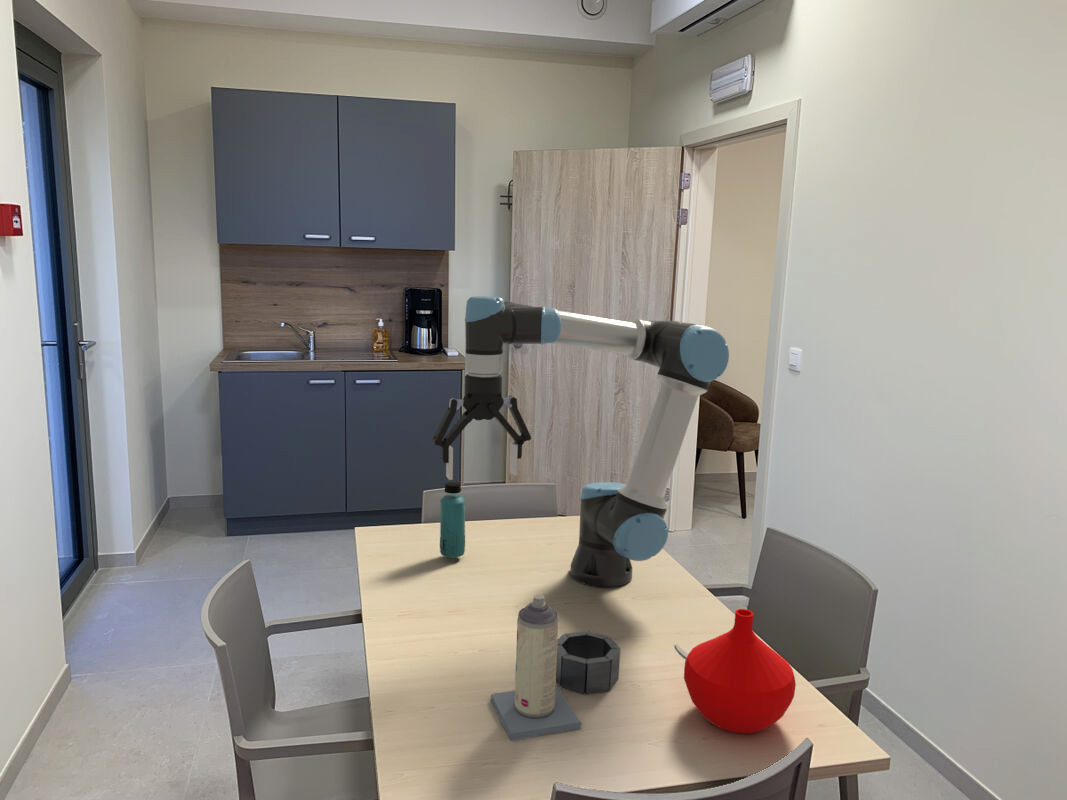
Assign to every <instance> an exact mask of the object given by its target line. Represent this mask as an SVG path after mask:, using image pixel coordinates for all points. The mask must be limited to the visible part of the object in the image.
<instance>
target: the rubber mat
mask: <svg viewBox="0 0 1067 800" xmlns="http://www.w3.org/2000/svg"><path fill="white" fill-rule="evenodd" d="M490 701H491V703H492V705H493V708H494V710H495V711H496V714H497V716H498V717H499V720H500V721H501V723H502V725H503V727H504V729H505V731H506V733H507V735H508V737H509V739H510V741H515V740H523V739H527V738H533V737H540V736H544V735H545V736H546V735H550V734H551V735H552V734H557V733H563V732H568V731H574V730H580V729H581V728H582V727H581V725H582V722H581V721H582V720H580V719H579V717H578V715H577V714H576V712H575V711H574V709H573V708H572V707H571V705H570V704H569V702H568V701H567V699H566V697H565V696H564V695H563V693H562V692H561V690H560V689H559V686H558V685H556V686H555V708H554V712H553V713H552V714H551V715H550V716H548V717H545V718H541V719H530V718H526V717H523V716H521V715H519V714H518V713H517V712H516V710H515V708H514V707H515V690H510V691H509V690H508V691H502V692H495V693H491V694H490Z"/></svg>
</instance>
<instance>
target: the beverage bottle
mask: <svg viewBox="0 0 1067 800" xmlns="http://www.w3.org/2000/svg"><path fill="white" fill-rule="evenodd" d="M444 492H445V493H447V494H445V495H444V496H443V497H442V498H440V517H439V518H440V519H439V522H440V526H439V527H440V529H439V530H440V531H439V534H440V535H439V552H440V555H442V556H443V557H445V558H458V557H459V558H460V557H462V556H464V555H465V551H466V523H465V521H466V519H465V515H466V499H465V497H463V496H462V495H461V494H459V493H461V492H462V485H461V483H460V482H458V481H448V482H446V483H444Z"/></svg>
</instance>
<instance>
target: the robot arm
mask: <svg viewBox="0 0 1067 800" xmlns="http://www.w3.org/2000/svg"><path fill="white" fill-rule="evenodd" d="M464 323H465V324H464V326H465V328H464V329H465V350H464V351H465V354H464V355H465V356H464V372H465V373H466V374H465V376H464V395H463V396H464V397H463V398H462V399H461V398H460V399H459V398H454V397H453V396H452V397H449V398H448V404H447V408H446V411H445V413H444V415H443V417H442V419H441V420H440V423H439V425H438V426H437V429H436V431H435V433H434V435H433V437H432V442H433V443H434V445H435V446H439V447H441V449H440V450H441V451H440V452H441V458H440V460H441V461H442V463H443V464H446V465H445V476H446V478H447V479H448V481H451V480H454V478H453V477H454V473H453V472H454V471H453V470H454V447H452V446H451V445H452V444H453V442H455V440H456V439H457V438H458V437H459V435H460V434H461V433H462V432H463V430H464V429H465V428H466V427H467V426H468V424H469V423H471V422H472V421H473V420H475V421H482V420H487V421H491V420H493V419H494V418H495V420H497V422H498V423H499V424H500V425H501V427H502V428H503V429H504V430H505V431H506V432H507V433H508V435H509V436H510V437H511V438H512V440H513V441H510V442H509V443H510V444H509V447H510V449H509V473H510V474H511V475H512V476H515V477H516V476H518V459H520V460H521V459H522V457H523V456H522V452H523V445H524V443H525V442H527V441H528V442H529V441H531V440H532V436H531V434H530V431H529V430H528V428H527V425H526V423H525V421H524V418H523V416H522V415H521V412H520V411H519V410H520V409H519V408H518V407H519V406H518V399H517V398H516V397H515V396H513V395H508V397H503V393H502V392H503V376H502V372H503V352H504V349H503V347H504V345H515V344H516V345H540V346H541V345H542V346H543V345H544V344H553V345H561V346H566V347H572V348H579V349H586V350H592V351H593V350H594V351H599V352H600V351H601V352H607V353H614V354H620V355H625V357H626V358H627V359H628V360H632V361H638V362H642V363H645V364H649V365H651V366H654V367H656V368H659V369H658V372H657V375H656V376H657V379H659V383H660V388H659V391H658V394H657V397H656V400H655V402H654V405H653V407H652V411H651V413H650V417H649V420H648V422H647V425H646V428H645V431H644V434H643V437H642V440H641V443H640V445H639V449H638V452H637V456H636V458H635V461H634V463H633V466H632V470H631V472H630V476H629V478H628V480H627V484H626V483H621V482H612V481H611V482H607V481H605V482H604V481H601V482H591V483H588V484H586V485H584V486H583V487H582V489H581V493H580V507H579V508H580V511H579V532H578V533H579V535H578V536H579V537H578V544H577V547H576V550H575V552H574V556H573V557H572V560H571V561H570V562H571V563H570V572H569V573H570V576H571V577H572V579H574V580H576V582H579V583H581V584H584V585H587V586H591V587H599V588H615V587H620V586H624V585H626V584H628V583H629V582H631V581H632V579H633V566H632V565H633V564H632V561H633V562H634V561H635V562H643V561H648V560H649V559H651V558H653V557H656V556H657V555H658V554H659V553H661V551H662V550H663V548H665V545H666V543H667V541H668V538H669V537H668V536H669V528H668V526H667V523H666V520H664V518H665V516H666V512H667V510H668V505H667V503H666V501H665V494H666V492H667V488H668V486H669V484H670V480H671V477H672V474H673V471H674V469H675V466H676V462H677V459H678V458H679V457H678V456H679V454H680V451H681V447H682V445H683V442H684V438H685V436H686V433H687V430H688V428H689V425H690V422H691V418H692V416H693V413H694V410H695V407H696V405H697V401H698V398H699V397H700V396H702V395H703V394H705V393H708V390H709V387H710V385H711V382H712V381H715V380H717V379H718V378H719V377H721V376H722V375H723V374H724V372H725V370H726V369H727V367H728V364H729V360H730V350H729V345H728V344H727V342H726V339H725V337H724V336H723V335H722V334H721V332H719V331H718V330H716V328H712V327H709V326H707V325H703V324H696V323H688V322H682V321H676V320H646V319H639V318H635V319H632V320H631V321H625V320H618V319H612V318H606V317H601V316H594V315H588V314H587V315H586V314H582V313H576V312H570V311H563V310H557V309H556V308H555V307H549V306H548V307H547V306H543V305H541V306H531V305H528V304H527V305H526V304H522V303H521V304H520V303H515V302H512V301H504V299H503V298H502V297H500V296H484V295H483V296H480V295H479V296H477V295H476V296H471V297H469V298H468V299H467V300H466V306H465V318H464ZM504 405H505V407H507V408H508V409H509V412H510V414H511V417H512V418H513V421H514V422H515V424H516V427H517V428H518V431H519V432H520V434H518V432H517V431H516V430H515V429H514V428H513V426H512V425H511V424H510V423H509V421H507V419H506V417H504V415H503V414H502V413H501V412H500V410H501V409H502V408H503V406H504ZM462 406H463V408H464V409H465V411H464V412H463V413H462V414H461V416H460V418H459V419H458V421H456V423H455V424H454V425H453V427H452V428H451V429H450V430H449V432H448V429H449V427H450V425H451V423H452V421H453V420H454V417H455V416H456V412H457V411H458V410H459V409H460V408H461V407H462Z"/></svg>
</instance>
